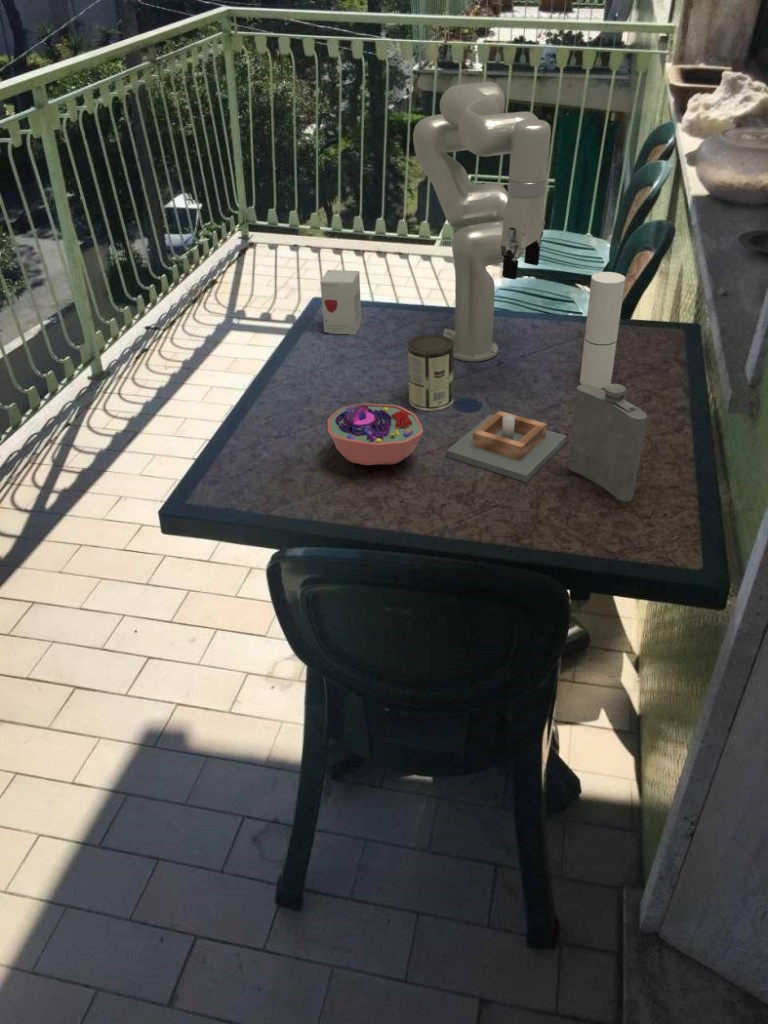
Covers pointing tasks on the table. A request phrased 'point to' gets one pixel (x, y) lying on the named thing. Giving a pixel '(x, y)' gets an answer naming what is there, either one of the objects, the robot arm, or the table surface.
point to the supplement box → (341, 301)
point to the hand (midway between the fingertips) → (520, 270)
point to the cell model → (374, 433)
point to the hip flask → (607, 439)
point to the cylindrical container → (602, 328)
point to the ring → (506, 446)
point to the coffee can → (430, 372)
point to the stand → (505, 464)
